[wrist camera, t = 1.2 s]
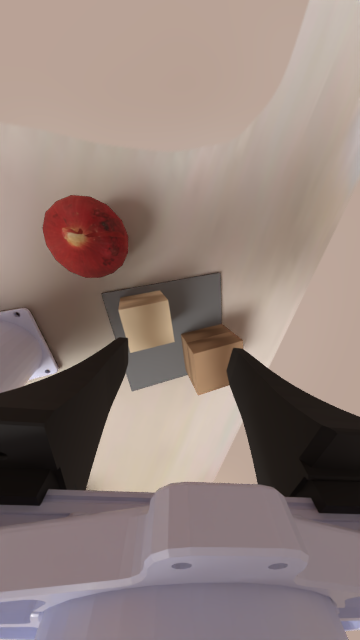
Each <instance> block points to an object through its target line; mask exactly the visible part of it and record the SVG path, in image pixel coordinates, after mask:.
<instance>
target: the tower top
mask: <svg viewBox="0 0 360 640" xmlns="http://www.w3.org/2000/svg"><path fill="white" fill-rule="evenodd" d="M233 348H242V349H243V340H242V339H240V338H239V337H238V336H237V335H235V334H234V333H233V332H227V333H223V334H219V335H215V336H212V337H208V338H204V339H200V340H196V341H192V342H188V343H187V351H188V359H189V367H190V375H191V382H192V384H193V386H194V388H195V390H196V392H197V394H198V395H201V394H204V393H207V392H210V391H213V390H216V389H219V388H222V387H225V386H228V385H229V381H228V377H227V372H226V370H227V367H228V363H229V360H230V356H231V353H232V350H233Z"/></svg>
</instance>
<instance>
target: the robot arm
mask: <svg viewBox="0 0 360 640" xmlns="http://www.w3.org/2000/svg"><path fill="white" fill-rule="evenodd" d="M16 312H18V313H19V314H20V316H18V315H16ZM127 366H128V338H123V337H119V338H117V339H116V340H114V341H113V342H111V343H110V344H109V345H107V346H106V347H104V348H103V349H101V350H100V351H99V352H97V353H95V354H94V355H92V356H91V357H89V358H87V359H86V360H84V361H82V362H80V363H78V364H77V365H75V366H73V367H71V368H69V369H66V370H64V371H62V372H60V373H57V374H55V375H53V376H50V377H48V378H45V379H42V380H40V381H37V382H34V383H31V384H28V385H25V384H26V383H27V381H28V380H30V379H34V378H38V377H42V376H46V375H50V374H54V373H56V372H57V371H58V369H59V368H58V366H57V364H56V362H55V360H54V358H53V356H52V354H51V352H50V350H49V348H48V346H47V344H46V342H45V340H44V338H43V336H42V334H41V332H40V330H39V328H38V326H37V324H36V322H35V320H34V318H33V316H32V314H31V312H30V311H29V310H28V309H27V308H19V309H13V310H8V311H2V312H0V639H5V640H348V637H347V635H346V632H345V631H352V630H360V417H359V416H356V415H354V414H351V413H349V412H346V411H344V410H341V409H339V408H337V407H335V406H332V405H330V404H328V403H326V402H324V401H322V400H320V399H318V398H316V397H314V396H312V395H310V394H308V393H306V392H304V391H302V390H301V389H299V388H297V387H295V386H294V385H292V384H290V383H289V382H287V381H286V380H284V379H282V378H281V377H280V376H278V375H277V374H275V373H274V372H272V371H271V370H270V369H268V368H267V367H266V366H264V365H263V364H262V363H260V362H259V361H258V360H257V359H255V358H254V357H253V356H251V355H250V354H249V353H247V352H246V351H245V350H243V349H242V348H233V350H232V353H231V356H230V360H229V363H228V367H227V370H226V372H227V377H228V381H229V385H230V387H231V390H232V393H233V396H234V398H235V401H236V403H237V406H238V409H239V411H240V414H241V417H242V420H243V423H244V427H245V430H246V434H247V437H248V442H249V446H250V450H251V454H252V458H253V463H254V468H255V472H256V477H257V482H258V484H230V483H204V482H180V483H171V484H169V485H166V486H164V487H162V488H159V489H158V490H157V491H156V492H155V493H148V492H118V491H87V490H86V486H87V483H88V479H89V476H90V472H91V468H92V465H93V462H94V458H95V455H96V451H97V448H98V445H99V442H100V438H101V435H102V432H103V429H104V426H105V423H106V420H107V417H108V414H109V411H110V408H111V406H112V404H113V401H114V399H115V397H116V395H117V392H118V390H119V388H120V385H121V383H122V381H123V378H124V376H125V373H126V370H127ZM47 370H50V371H47ZM24 385H25V386H24Z"/></svg>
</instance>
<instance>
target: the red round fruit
mask: <svg viewBox="0 0 360 640" xmlns="http://www.w3.org/2000/svg"><path fill="white" fill-rule="evenodd" d="M43 233H44V237H45V241H46V245H47V247H48V248H49V250H50V251H51V253H52V254H53V256H54V257H55V259H56V260H57V261H58V262H59V263H60V264H62V265H63V266H64V267H65V268H66V269H67V270H69V271H70V272H73V273H75V274H78V275H80V276H83V277H85V278H100V277H103V276H106V275H109V274H111V273H114V272H115V271H116V270H117V269H118V268H119V267H121V266H122V265H123V263H124V260H125V258H126V256H127V254H128V235H127V232H126V230H125V227H124V225H123V222H122V220H121V219H120V218H119V217H118V216H117V215H116V214H115V213H114V212H113V211H112V210H111V209H110V208H109V206H107V205H106V204H104V203H102V202H100V201H98V200H96V199H94V198H92V197H88V196H76V195H70V196H68V197H66V198H63V199H61V200H58V201H56V202H55V203H54V204H53V205H52V206H51V207H50V208H49V209H48V210H47V211H46V213H45V218H44V223H43Z"/></svg>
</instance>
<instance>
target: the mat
mask: <svg viewBox="0 0 360 640" xmlns="http://www.w3.org/2000/svg"><path fill="white" fill-rule="evenodd" d="M159 290H160V291H161V292H162V293H163V295H164V296H165V297H166V298H167V299H168V303H169V309H170V315H171V322H172V328H173V335H174V341H175V342H172V343H168V344H164V345H160V346H156V347H152V348H148V349H144V350H140V351H136V352H133V353H130V350H129V346H128V366H127V370H126V374H127V377H128V381H129V384H130V387H131V390H132V391H135V390H138V389H142V388H145V387H148V386H152V385H155V384H158V383H162V382H165V381H169V380H172V379H175V378H179V377H182V376H185V375H188V374H187V372H186V369H185V362H184V355H183V347H182V340H181V334H183V333H187V332H191V331H195V330H199V329H203V328H207V327H211V326H215V325H219V324H222V315H221V278H220V273H213V274H208V275H202V276H196V277H191V278H185V279H179V280H174V281H168V282H163V283H157V284H151V285H146V286H140V287H134V288H129V289H123V290H118V291H112V292H106V293H102V297H103V301H104V304H105V307H106V310H107V313H108V317H109V320H110V323H111V326H112V329H113V333H114V336H115V339H117V338H119V337H123V338H126V336H125V332H124V329H123V325H122V322H121V318H120V314H119V311H118V309H119V302H120V298H121V297H127V296H132V295H137V294H143V293H148V292H153V291H159Z"/></svg>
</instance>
